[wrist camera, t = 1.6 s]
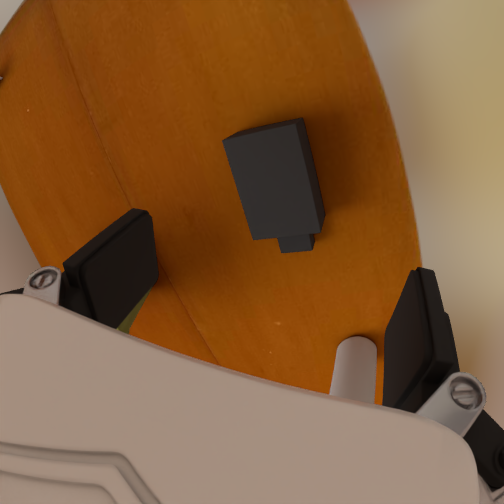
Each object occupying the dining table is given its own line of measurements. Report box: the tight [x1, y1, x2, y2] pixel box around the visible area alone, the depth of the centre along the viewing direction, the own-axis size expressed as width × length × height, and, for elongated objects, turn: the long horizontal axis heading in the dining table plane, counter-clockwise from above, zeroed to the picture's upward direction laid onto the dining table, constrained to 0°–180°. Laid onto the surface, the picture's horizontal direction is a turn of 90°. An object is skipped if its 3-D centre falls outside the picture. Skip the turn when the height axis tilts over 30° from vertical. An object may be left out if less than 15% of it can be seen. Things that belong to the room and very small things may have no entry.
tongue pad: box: [222, 118, 325, 253], centre depth 27 cm, size 6×12×4 cm, turn 17°
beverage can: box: [329, 336, 377, 404], centre depth 31 cm, size 5×5×12 cm
